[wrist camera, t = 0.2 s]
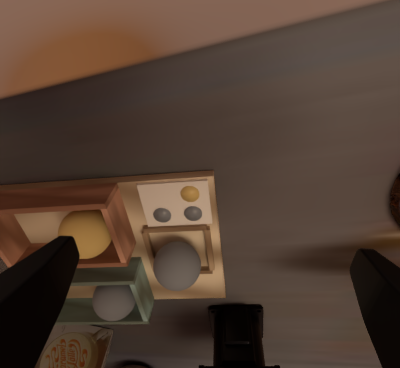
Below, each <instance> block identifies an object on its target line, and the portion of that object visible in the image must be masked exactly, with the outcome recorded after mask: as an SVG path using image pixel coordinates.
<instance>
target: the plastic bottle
mask: <svg viewBox="0 0 400 368" xmlns="http://www.w3.org/2000/svg"><path fill="white" fill-rule="evenodd" d="M122 368H147V367H144V366H140V365H127V366H124V367H122Z"/></svg>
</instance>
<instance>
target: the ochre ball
mask: <svg viewBox="0 0 400 368" xmlns="http://www.w3.org/2000/svg"><path fill="white" fill-rule="evenodd" d="M62 235H63V236H73V237H74V239H75V241H76V245H77V248H78V251H79V255H80V258H79V259H89V258H93V257H95V256H98V255H99V254H101V253H102V252H103V251H104V250H105V249H106V248H107V247H108V246H109V244H110V242H111V240H112V238H111V235H110V233H109V230H108V228H107V225H106V222H105V220H104V217H103V214H102V212H101V211H100V210H98V209H95V210H78V211H72V212H70V213H69V214H68V215H66V216H65V218H64V219H63V220H62V222H61V223H60V226H59V229H58V236H62Z"/></svg>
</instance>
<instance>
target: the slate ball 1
mask: <svg viewBox="0 0 400 368" xmlns="http://www.w3.org/2000/svg"><path fill="white" fill-rule="evenodd" d="M135 303H136V301H135V298H134V295H133V293H132V290H131V288H130V285H100V286H97V287H96V289H95V291H94V293H93V298H92V304H93V308H94V311H95V312H96V314H97V315H98V316H99V317H100V318H102V319H104V320H106V321H118V320H121V319H123V318H125V317H126V316H127V315H128V314H129V313H130V312H131V311H132V310H133V308H134V306H135Z"/></svg>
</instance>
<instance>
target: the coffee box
mask: <svg viewBox="0 0 400 368" xmlns="http://www.w3.org/2000/svg"><path fill="white" fill-rule="evenodd" d="M112 335H113V330H112V329H107V328H102V327H97V326H92V325H54V327H53V329H52V332H51V334H50V336H49V338H48V340H47V342H46V344H45V347H44V349H43V351H42V353H41V355H40V357H39V359H38V362H37V364H36V366H35V368H104V366H105V363H106V360H107V357H108V354H109V350H110V345H111V341H112Z"/></svg>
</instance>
